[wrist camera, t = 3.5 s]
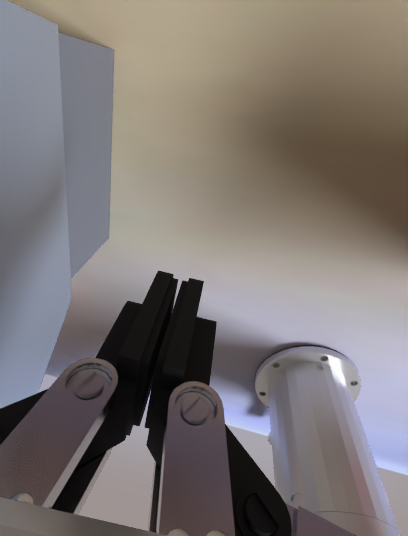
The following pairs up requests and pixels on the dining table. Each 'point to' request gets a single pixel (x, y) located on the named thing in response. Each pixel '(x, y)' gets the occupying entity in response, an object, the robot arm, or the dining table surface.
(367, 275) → the dining table surface
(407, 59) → the dining table surface
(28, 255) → the lid
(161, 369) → the robot arm
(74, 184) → the storage box
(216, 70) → the dining table surface
